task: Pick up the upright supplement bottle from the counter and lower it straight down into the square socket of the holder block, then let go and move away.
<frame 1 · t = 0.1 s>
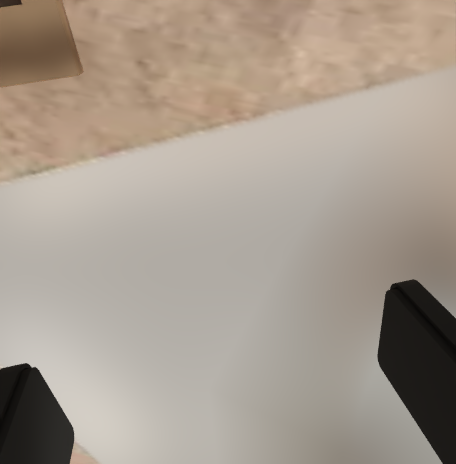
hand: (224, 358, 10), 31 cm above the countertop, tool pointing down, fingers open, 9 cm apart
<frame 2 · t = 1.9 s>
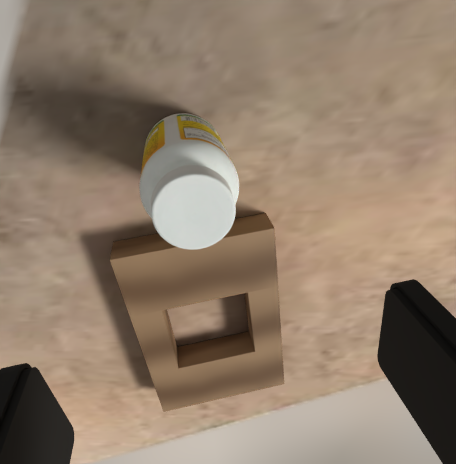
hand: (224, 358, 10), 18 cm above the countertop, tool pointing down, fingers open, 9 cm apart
supplement bottle: (182, 150, 25), on the countertop
holder: (208, 312, 33), on the countertop
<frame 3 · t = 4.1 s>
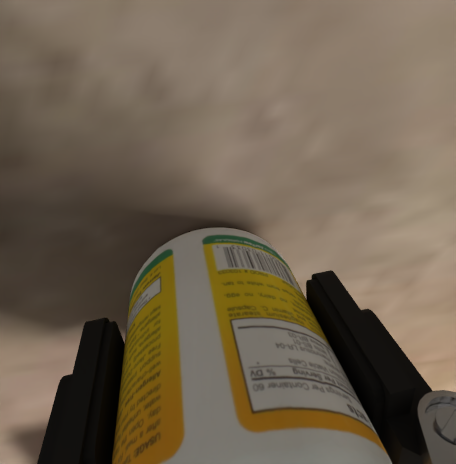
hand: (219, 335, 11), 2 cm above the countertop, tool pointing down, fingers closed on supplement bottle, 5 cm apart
supplement bottle: (209, 288, 12), on the countertop, touching gripper
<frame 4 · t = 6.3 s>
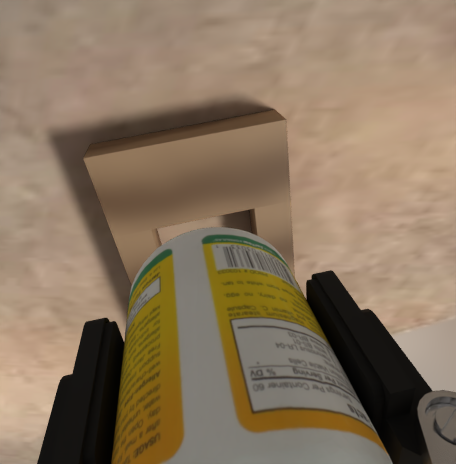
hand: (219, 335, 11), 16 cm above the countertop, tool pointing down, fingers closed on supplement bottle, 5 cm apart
supplement bottle: (209, 288, 12), point 14 cm above the countertop, touching gripper
holder: (208, 241, 28), on the countertop
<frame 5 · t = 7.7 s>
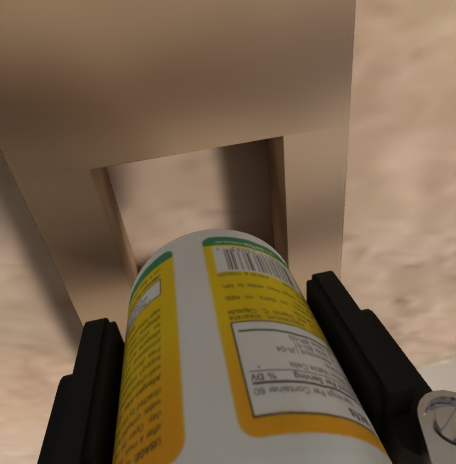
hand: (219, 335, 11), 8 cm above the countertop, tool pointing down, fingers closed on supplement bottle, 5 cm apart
supplement bottle: (209, 289, 12), point 6 cm above the countertop, touching gripper
holder: (197, 207, 17), on the countertop
when the fingers open (3 cm above the countertop, at t = 9.0 s): supplement bottle stays where it is, resting in holder.
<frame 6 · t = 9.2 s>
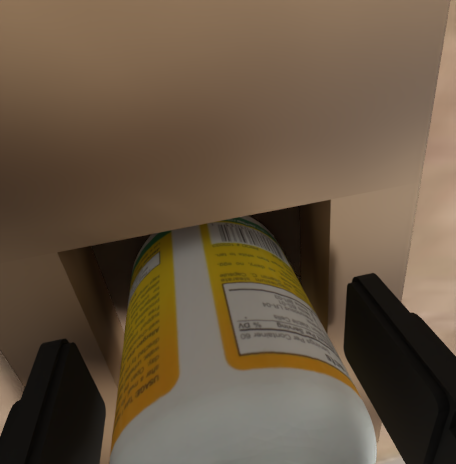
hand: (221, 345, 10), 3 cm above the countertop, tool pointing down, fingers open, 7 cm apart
supplement bottle: (206, 268, 13), resting in holder
holder: (207, 275, 13), on the countertop
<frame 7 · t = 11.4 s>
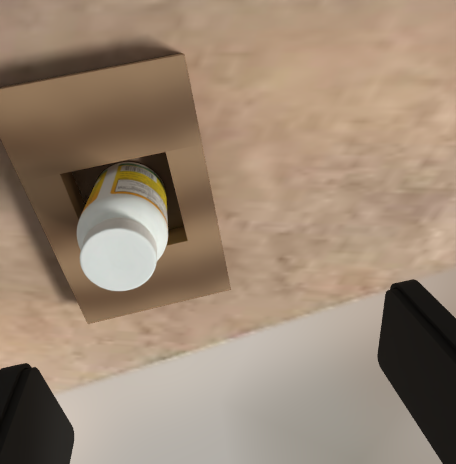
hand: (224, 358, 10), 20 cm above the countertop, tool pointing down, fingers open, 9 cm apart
supplement bottle: (130, 193, 28), resting in holder
holder: (130, 196, 28), on the countertop
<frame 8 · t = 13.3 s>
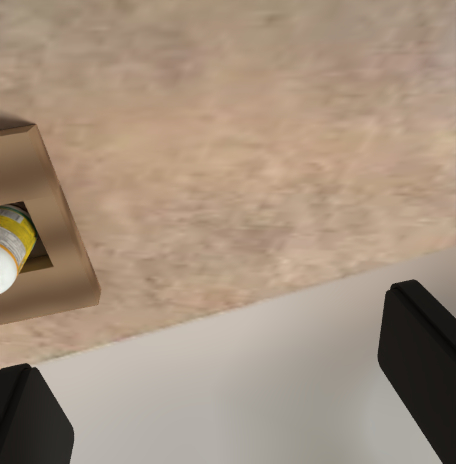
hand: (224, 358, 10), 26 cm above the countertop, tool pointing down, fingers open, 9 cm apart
supplement bottle: (9, 227, 35), resting in holder
holder: (9, 229, 34), on the countertop
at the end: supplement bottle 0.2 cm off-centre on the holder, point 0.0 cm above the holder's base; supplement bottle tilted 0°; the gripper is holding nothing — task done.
